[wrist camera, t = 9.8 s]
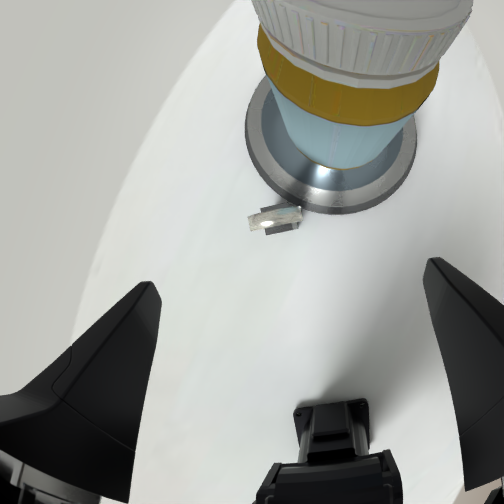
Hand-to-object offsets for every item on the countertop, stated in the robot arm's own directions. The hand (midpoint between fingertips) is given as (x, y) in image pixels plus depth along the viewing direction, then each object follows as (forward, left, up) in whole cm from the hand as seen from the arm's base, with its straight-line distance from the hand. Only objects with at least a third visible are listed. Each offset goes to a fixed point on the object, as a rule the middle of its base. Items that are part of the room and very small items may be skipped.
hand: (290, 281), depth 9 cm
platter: (+8, -4, -12) cm, 15 cm away
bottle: (+8, -4, -11) cm, 14 cm away
